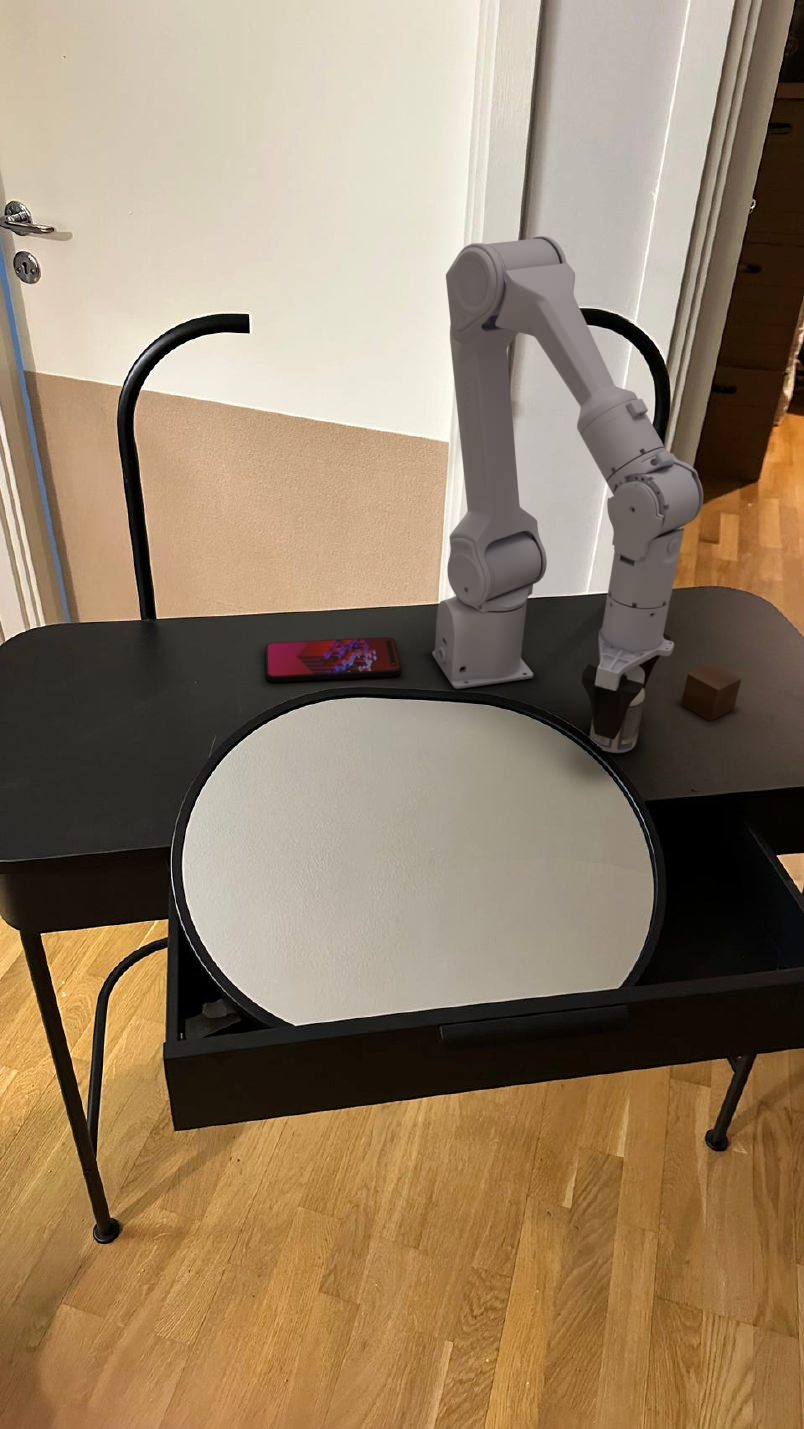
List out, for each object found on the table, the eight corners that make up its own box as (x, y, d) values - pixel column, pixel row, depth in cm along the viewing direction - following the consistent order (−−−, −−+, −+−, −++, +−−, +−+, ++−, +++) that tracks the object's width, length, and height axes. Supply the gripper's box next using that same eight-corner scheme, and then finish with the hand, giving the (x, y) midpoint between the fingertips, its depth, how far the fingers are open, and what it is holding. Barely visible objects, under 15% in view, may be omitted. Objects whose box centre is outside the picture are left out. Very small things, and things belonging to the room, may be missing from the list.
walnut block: (710, 721, 104) (718, 690, 102) (680, 704, 107) (687, 673, 104) (733, 709, 106) (742, 678, 104) (704, 693, 109) (711, 662, 106)
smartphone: (265, 642, 113) (394, 636, 115) (265, 648, 114) (394, 642, 116) (266, 677, 107) (402, 670, 109) (266, 684, 107) (402, 677, 109)
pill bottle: (633, 729, 102) (646, 660, 98) (637, 756, 98) (652, 685, 94) (587, 726, 103) (598, 656, 98) (590, 752, 99) (602, 681, 94)
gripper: (660, 638, 84) (635, 765, 92) (700, 575, 95) (675, 693, 103) (581, 618, 87) (563, 743, 94) (629, 559, 98) (610, 675, 105)
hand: (617, 716), depth 99 cm, fingers open, 7 cm apart
